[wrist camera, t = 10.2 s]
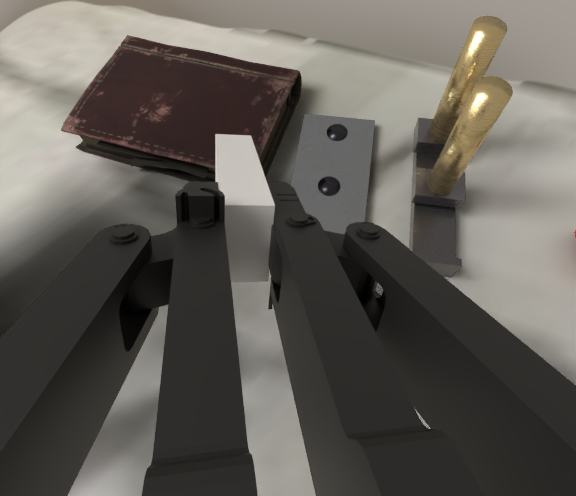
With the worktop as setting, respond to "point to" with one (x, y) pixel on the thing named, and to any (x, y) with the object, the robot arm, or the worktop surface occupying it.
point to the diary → (181, 108)
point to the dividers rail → (433, 229)
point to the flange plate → (334, 169)
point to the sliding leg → (461, 145)
